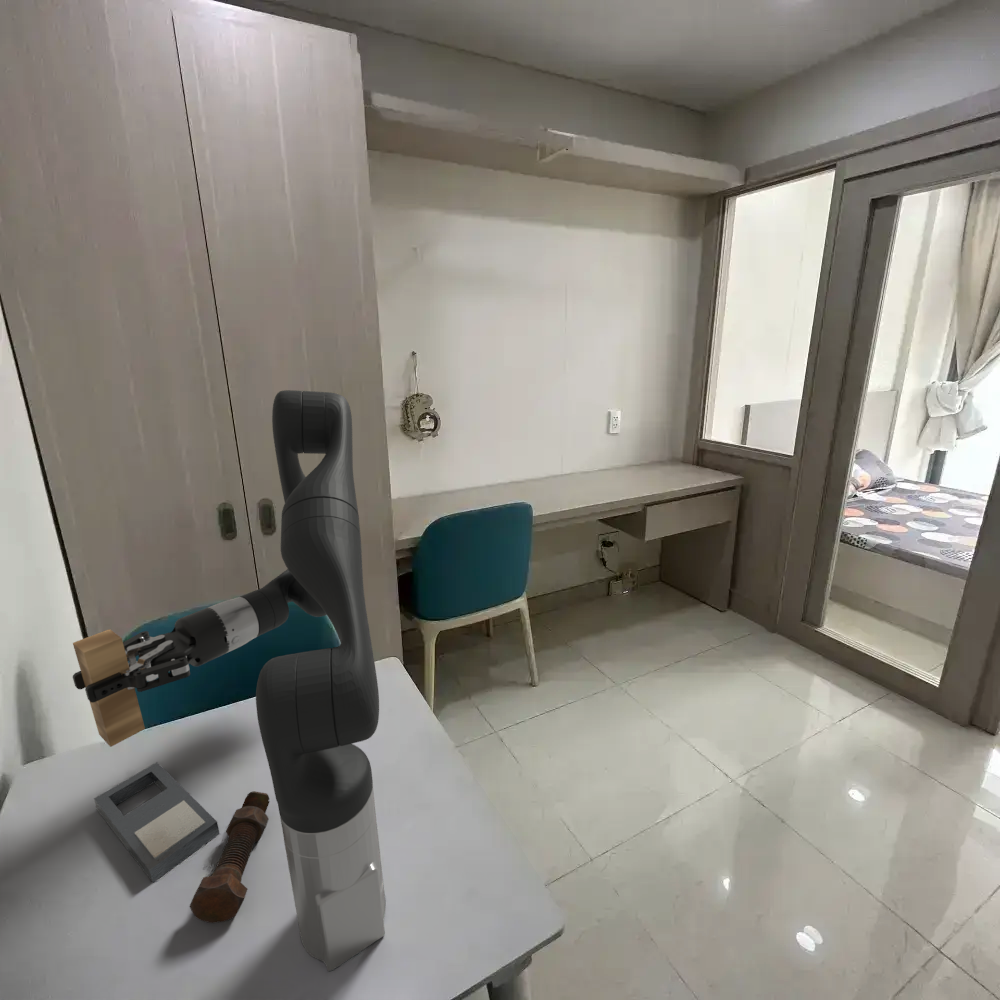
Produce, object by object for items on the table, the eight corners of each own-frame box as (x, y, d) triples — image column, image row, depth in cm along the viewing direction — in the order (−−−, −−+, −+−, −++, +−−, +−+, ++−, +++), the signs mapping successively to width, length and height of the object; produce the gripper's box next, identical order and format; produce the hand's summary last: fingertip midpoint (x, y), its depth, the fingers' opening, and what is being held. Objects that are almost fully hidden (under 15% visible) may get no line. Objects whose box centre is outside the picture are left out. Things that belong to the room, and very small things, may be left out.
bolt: (267, 819, 72) (227, 930, 58) (232, 808, 71) (182, 920, 57) (284, 786, 71) (248, 892, 57) (248, 775, 70) (202, 880, 56)
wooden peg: (145, 729, 70) (121, 638, 66) (110, 747, 67) (83, 652, 63) (132, 717, 72) (109, 629, 68) (99, 734, 69) (72, 642, 65)
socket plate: (219, 833, 68) (216, 820, 67) (152, 882, 62) (149, 868, 61) (159, 772, 78) (156, 760, 78) (97, 809, 72) (93, 797, 71)
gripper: (191, 595, 81) (54, 645, 68) (238, 620, 73) (94, 683, 60) (199, 637, 83) (69, 694, 70) (247, 666, 75) (109, 736, 62)
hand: (82, 688), depth 65 cm, fingers closed on wooden peg, 4 cm apart
